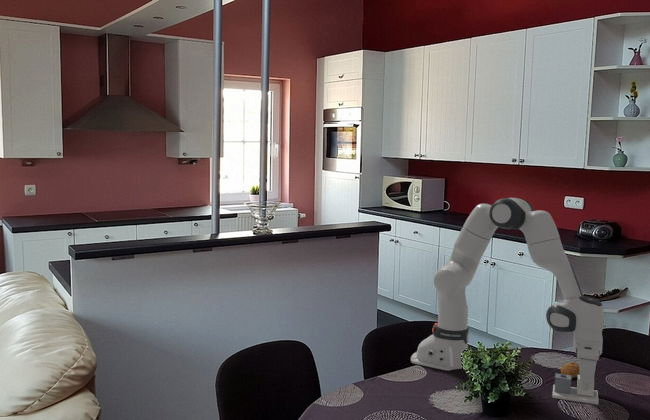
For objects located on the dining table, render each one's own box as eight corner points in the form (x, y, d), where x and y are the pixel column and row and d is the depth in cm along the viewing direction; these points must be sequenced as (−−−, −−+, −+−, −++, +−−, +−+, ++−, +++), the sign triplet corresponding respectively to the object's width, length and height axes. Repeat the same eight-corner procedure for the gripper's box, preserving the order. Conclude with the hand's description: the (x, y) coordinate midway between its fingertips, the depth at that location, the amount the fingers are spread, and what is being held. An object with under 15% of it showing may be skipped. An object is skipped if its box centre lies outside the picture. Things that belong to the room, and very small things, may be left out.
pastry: (576, 381, 220) (576, 370, 220) (556, 377, 224) (557, 367, 223) (582, 373, 228) (582, 363, 228) (563, 370, 232) (563, 360, 231)
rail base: (552, 397, 204) (553, 378, 204) (553, 387, 214) (554, 368, 213) (598, 404, 199) (599, 384, 199) (597, 393, 208) (598, 374, 208)
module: (576, 394, 204) (577, 377, 204) (576, 389, 208) (577, 372, 207) (593, 396, 202) (594, 379, 202) (593, 391, 206) (594, 375, 206)
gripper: (577, 336, 214) (574, 375, 216) (577, 354, 196) (574, 396, 197) (596, 338, 212) (594, 377, 213) (599, 356, 193) (596, 399, 195)
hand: (585, 386), depth 205 cm, fingers closed on module, 4 cm apart
